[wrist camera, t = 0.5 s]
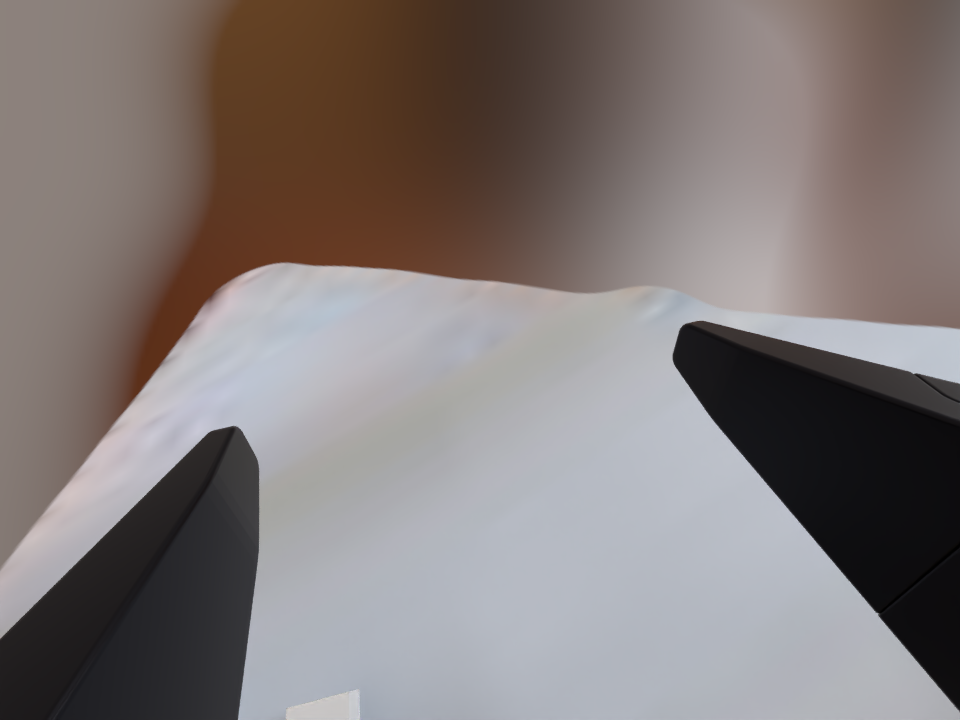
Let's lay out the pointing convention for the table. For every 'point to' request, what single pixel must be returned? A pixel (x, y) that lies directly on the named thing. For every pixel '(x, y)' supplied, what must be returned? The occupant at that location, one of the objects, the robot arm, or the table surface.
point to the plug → (328, 708)
